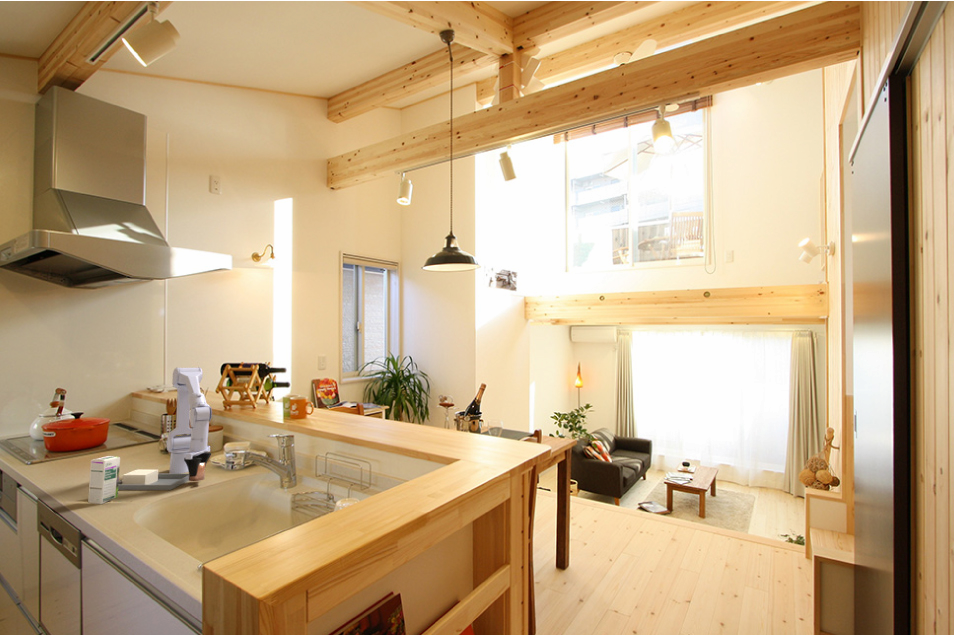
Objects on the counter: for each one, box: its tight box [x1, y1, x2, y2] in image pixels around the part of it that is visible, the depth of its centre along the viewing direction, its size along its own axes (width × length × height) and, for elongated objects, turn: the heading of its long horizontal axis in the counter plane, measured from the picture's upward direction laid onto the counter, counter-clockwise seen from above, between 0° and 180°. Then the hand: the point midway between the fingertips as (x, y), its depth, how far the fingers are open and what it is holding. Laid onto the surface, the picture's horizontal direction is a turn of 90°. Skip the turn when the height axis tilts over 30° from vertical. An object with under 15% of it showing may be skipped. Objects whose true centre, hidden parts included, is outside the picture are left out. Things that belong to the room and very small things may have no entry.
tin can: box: [188, 462, 206, 482], centre depth 179 cm, size 5×5×6 cm
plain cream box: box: [121, 469, 159, 485], centre depth 176 cm, size 8×8×4 cm
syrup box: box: [87, 455, 121, 505], centre depth 159 cm, size 6×6×14 cm
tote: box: [118, 472, 190, 491], centre depth 177 cm, size 16×21×2 cm
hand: (196, 474), depth 179 cm, fingers closed on tin can, 5 cm apart
